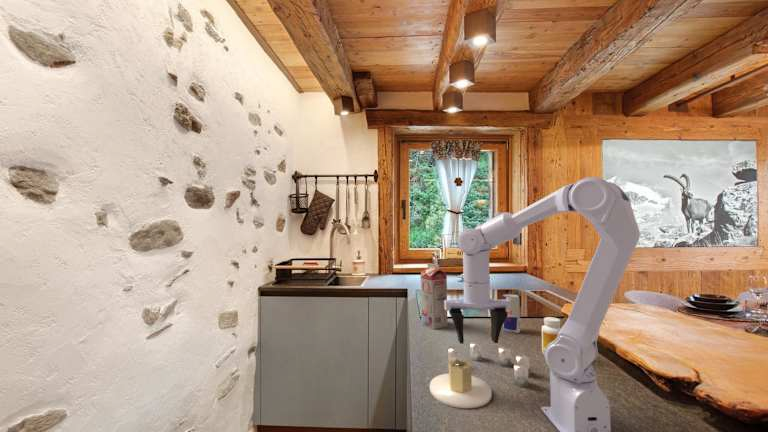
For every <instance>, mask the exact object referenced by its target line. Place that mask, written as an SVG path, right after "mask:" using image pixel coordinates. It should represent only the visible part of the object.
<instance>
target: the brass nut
mask: <svg viewBox="0 0 768 432" xmlns="http://www.w3.org/2000/svg"><path fill="white" fill-rule="evenodd" d="M447 361H448V360H447ZM447 366H448V373H449V386H450V389H451V390H452V391H456V392H459V393H465V392H468V391H471V390H472V378H471V376H472V366H471V364H470V362H469V361H468V360H464V359H461V358H460V359H455V360H451V361H448V365H447Z"/></svg>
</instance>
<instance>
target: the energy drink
mask: <svg viewBox="0 0 768 432" xmlns="http://www.w3.org/2000/svg"><path fill="white" fill-rule="evenodd" d="M502 299H507V300H509V301H510V306H511V310H506V312H508V316H507V318H506V320H505V322H504V323H503V326H502V330H503V331H504V333H507V334H511V335H514V334H515V335H517V334H520V332H521V315H520V314H521V312H520V311H521V310H520V305H521V304H520V296H519V295H518V294H514V293H504V294H502Z"/></svg>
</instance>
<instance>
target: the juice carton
mask: <svg viewBox="0 0 768 432" xmlns="http://www.w3.org/2000/svg"><path fill="white" fill-rule="evenodd" d="M426 264H427V267H426V268H425V269H424V270H422V271H421V272H420V304H421V305H420V310H421V312H420V314H421V316H420V317H421V318H420V320H421V325H422V326H424V327H426V328H429V329H431V330H436V329H441V328H446V327H449V326H448V311H446V310H445V309H444V300H448V284H447V283H448V281H447V280H448V279H447V277H448V275H447V273H446V272H445V271H443V270H441V269H440V264H434V263H428V262H427V263H426Z"/></svg>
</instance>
